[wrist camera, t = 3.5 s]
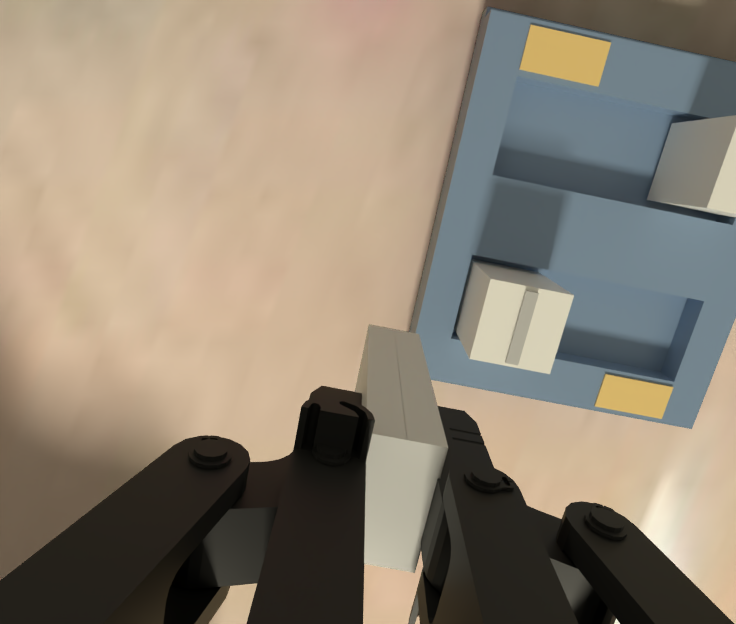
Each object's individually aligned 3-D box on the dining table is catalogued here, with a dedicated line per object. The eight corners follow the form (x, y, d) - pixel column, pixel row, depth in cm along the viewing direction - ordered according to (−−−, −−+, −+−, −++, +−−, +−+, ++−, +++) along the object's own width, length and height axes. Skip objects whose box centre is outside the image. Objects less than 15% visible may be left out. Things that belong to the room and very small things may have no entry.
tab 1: (452, 325, 32) (470, 360, 26) (469, 258, 31) (491, 279, 25) (519, 338, 32) (551, 375, 26) (539, 272, 31) (575, 296, 25)
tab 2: (646, 199, 30) (709, 208, 24) (671, 123, 29) (743, 114, 23) (716, 214, 30) (794, 226, 24) (744, 139, 29) (832, 133, 23)
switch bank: (401, 365, 34) (404, 383, 31) (482, 12, 29) (494, -3, 26) (664, 415, 35) (689, 437, 32) (790, 81, 29) (833, 73, 27)
